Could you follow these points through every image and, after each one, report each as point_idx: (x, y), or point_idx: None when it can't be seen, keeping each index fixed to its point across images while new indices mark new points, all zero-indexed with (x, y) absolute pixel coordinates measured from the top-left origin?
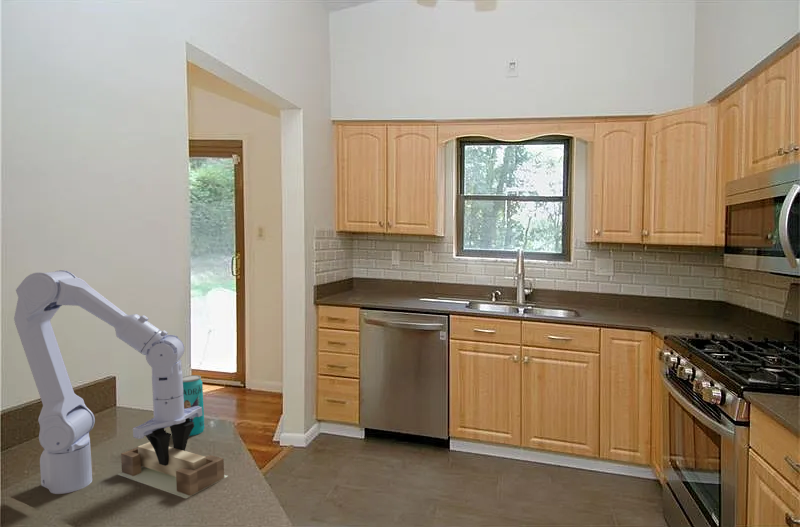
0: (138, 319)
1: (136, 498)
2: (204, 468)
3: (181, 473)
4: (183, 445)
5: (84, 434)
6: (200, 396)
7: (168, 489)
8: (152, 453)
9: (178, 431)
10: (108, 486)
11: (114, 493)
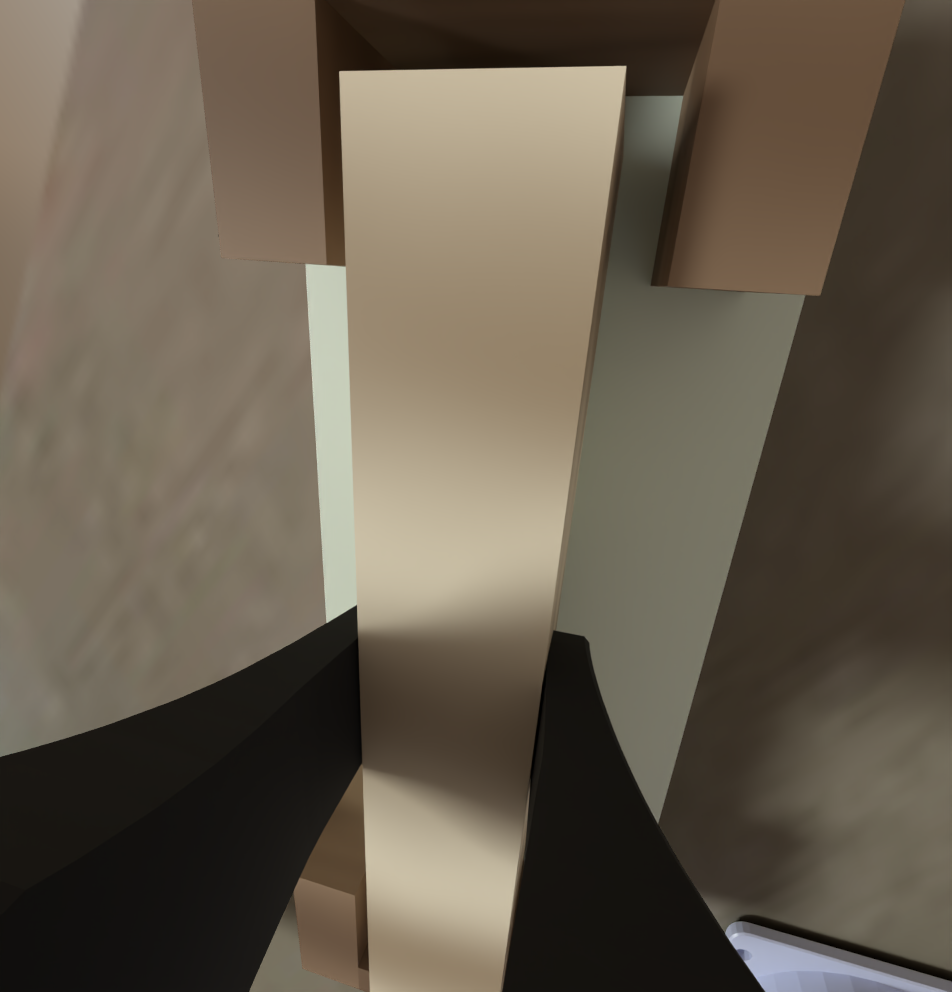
0: None
1: (852, 602)
2: None
3: (865, 127)
4: (311, 664)
5: None
6: None
7: (735, 407)
8: (516, 877)
9: (191, 928)
10: (733, 874)
11: (813, 791)
